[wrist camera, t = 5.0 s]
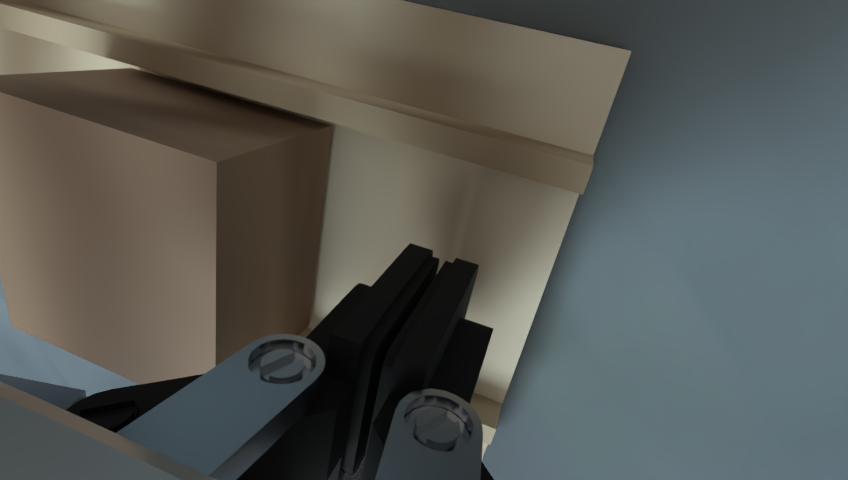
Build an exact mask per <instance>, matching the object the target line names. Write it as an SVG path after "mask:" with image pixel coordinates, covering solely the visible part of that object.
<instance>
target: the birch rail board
mask: <svg viewBox="0 0 848 480" xmlns="http://www.w3.org/2000/svg"><path fill="white" fill-rule="evenodd" d="M631 52H632V51H629V50H625V49H620V48H616V47H611V46H607V45H602V44H598V43H593V42H589V41H584V40H580V39H575V38H571V37H566V36H562V35H557V34H553V33H548V32H544V31H539V30H534V29H530V28H525V27H521V26H516V25H512V24H507V23H503V22H498V21H494V20H489V19H485V18H480V17H476V16H471V15H467V14H462V13H458V12H453V11H449V10H444V9H440V8H435V7H431V6H426V5H422V4H417V3H413V2H408V1H404V0H0V75H8V74H27V73H46V72H65V71H84V70H103V69H122V68H134V69H137V70H140V71H144V72H147V73H151V74H154V75H158V76H161V77H165V78H168V79H172V80H175V81H178V82H182V83H185V84H189V85H192V86H196V87H199V88H203V89H206V90H210V91H213V92H217V93H220V94H223V95H227V96H230V97H234V98H237V99H241V100H244V101H248V102H251V103H255V104H258V105H261V106H265V107H268V108H272V109H275V110H279V111H282V112H286V113H289V114H293V115H296V116H300V117H303V118H306V119H310V120H313V121H317V122H320V123H324V124H327V125H331V126H332V127H331V136H330V145H329V154H328V163H327V172H326V180H325V189H324V198H323V207H322V216H321V225H320V234H319V243H318V251H317V260H316V269H315V278H314V287H313V296H312V305H311V314H310V323H309V326H308V327H307V328H305V329H304V330H303V331H302V332H301V333H300V334H299V335H298V336H301V337H304V338H306V337H307V336H308V335H309V334H310V332H311V331H312V330H313V329H314V328H315V327H316V326H317V325H318V324H319V323H320V322H321V321H322V320H323V319H324V318H325V317H326V316H327V315H328V314H329V313H330V312H331V311H332V310H333V309H334V307H335V306H336V305H337V304H338V303H339V302H340V301H341V300H342V299H343V298H344V297H345V296H346V295H347V294H348V293H349V292H350V291H351V290H352V289H353V288H354V287H355V286H356V285H357V284H358V283H362V284H365V285H368V286H372V285H373V284H374V283H375V282H376V281H377V279H378V278H379V277H380V276H381V275H382V274H383V273H384V272H385V270H386V269H387V268H388V267H389V266H390V265H391V264H392V263H393V261H394V260H395V259H396V258H397V257H398V256H399V255H400V254H401V252H402V251H403V250H404V249H405V248H406V247H407V246H408V245H409V244H410V243H412V244H415V245H418V246H421V247H424V248H427V249H430V250H433V257H436V258H439V266H438V270H437V273H438V272H439V270H440V268H441V267H442V265H443V264H444V262H445V261H448V262H451V263H453V262H454V260H455V259H456V258H459V259H462V260H465V261H468V262H471V263H475V264H478V265H479V268H478V273H477V276H476V280H475V284H474V287H473V291H472V294H471V298H470V302H469V305H468V309H467V313H466V316H465V319H467V320H470V321H473V322H476V323H479V324H482V325H485V326H488V327H491V328H494V329H493V332H492V336H491V339H490V342H489V345H488V348H487V352H486V355H485V358H484V361H483V364H482V368H481V371H480V374H479V377H478V380H477V383H476V387H475V390H474V393H473V396H472V399H471V402H470V406H471V407H472V408H473V409H474V410H475V411H476V412H477V414H478V416H479V418H480V420H481V422H482V429H483V444H482V458H483V455H484V453H485V450H486V447H487V445H491V442H492V439H493V437H494V434H495V431H496V428H497V424H498V420H499V416H500V412H501V408H502V404H503V401H504V398H505V395H506V393H507V390H508V387H509V385H510V382H511V379H512V376H513V374H514V371H515V368H516V365H517V363H518V360H519V357H520V355H521V352H522V349H523V346H524V344H525V341H526V338H527V335H528V333H529V330H530V327H531V325H532V322H533V319H534V316H535V314H536V311H537V308H538V305H539V303H540V300H541V297H542V295H543V292H544V289H545V286H546V284H547V281H548V278H549V275H550V273H551V270H552V267H553V265H554V262H555V259H556V256H557V254H558V251H559V248H560V245H561V243H562V240H563V237H564V235H565V232H566V229H567V226H568V224H569V221H570V218H571V215H572V213H573V210H574V207H575V205H576V202H577V199H578V196H579V194H582V195H583V194H584V191H585V188H586V186H587V183H588V180H589V178H590V175H591V172H592V169H593V167H594V156H593V155H594V153H595V150H596V147H597V145H598V142H599V139H600V136H601V134H602V131H603V128H604V125H605V123H606V120H607V117H608V115H609V112H610V109H611V106H612V104H613V101H614V98H615V95H616V93H617V90H618V87H619V85H620V82H621V79H622V76H623V74H624V71H625V68H626V65H627V63H628V60H629V57H630V55H631Z"/></svg>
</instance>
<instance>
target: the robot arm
mask: <svg viewBox="0 0 848 480" xmlns="http://www.w3.org/2000/svg"><path fill="white" fill-rule="evenodd" d="M438 266H439V258H436V257H433V250H430V249H427V248H424V247H421V246H418V245H415V244H412V243H410V244H409V245H408V246H407V247H406V248H405V249H404V250H403V251H402V252H401V254H400V255H399V256H398V257H397V258H396V259H395V260H394V261H393V263H392V264H391V265H390V266H389V267H388V268H387V269H386V270H385V272H384V273H383V274H382V275H381V276H380V277H379V278H378V279H377V281H376V282H375V283H374V284H373V285H372V286H368V285H365V284H362V283H358V284H357V285H356V286H355V287H354V288H353V289H352V290H351V291H350V292H349V293H348V294H347V295H346V296H345V297H344V298H343V299H342V300H341V301H340V302H339V303H338V304H337V305H336V306H335V307H334V309H333V310H332V311H331V312H330V313H329V314H328V315H327V316H326V317H325V318H324V319H323V320H322V321H321V322H320V323H319V324H318V325H317V326H316V327H315V328H314V329H313V330H312V331H311V332H310V334H309V335H308V336H307V337H306V338H304V337H301V336H298V335H291V334H274V335H270V336H266V337H262V338H260V339H258V340H256V341H254V342H252V343H250V344H248V345H247V346H245V347H244V348H242V349H241V350H239V351H238V352H236V353H235V354H233V355H232V356H230V357H229V358H227V359H226V360H224V361H223V362H221V363H220V364H218V365H217V366H215V367H214V368H212V369H211V370H209V371H208V372H206V373H205V374H200V375H194V376H188V377H182V378H176V379H171V380H165V381H159V382H153V383H147V384H141V385H135V386H129V387H123V388H117V389H111V390H107V391H103V392H100V393H96V394H93V395H91V396H89V397H86V392H85V390H81V389H75V388H70V387H65V386H60V385H55V384H49V383H44V382H39V381H34V380H29V379H23V378H18V377H13V376H8V375H3V374H0V480H341V479H342V477H343V475H344V473H345V472H349V473H351V474H354V473H355V472H356V471H357V469H358V467H359V465H360V463H361V462H362V460H363V458H364V456H365V458H364V463H363V468H362V473H361V478H362V480H494V479H493V478H492V476H491V475H490V473H489V472H488V470H487V469H486V467H485V466H484V464H483V463H482V444H483V429H482V422H481V420H480V418H479V416H478V414H477V412H476V411H475V410H474V409H473V408H472V407H471V406H470V402H471V399H472V396H473V393H474V390H475V387H476V383H477V380H478V377H479V374H480V371H481V368H482V364H483V361H484V358H485V355H486V352H487V348H488V345H489V342H490V339H491V336H492V332H493V329H494V328H491V327H488V326H485V325H482V324H479V323H476V322H473V321H470V320H467V319H465V316H466V313H467V309H468V305H469V302H470V298H471V294H472V291H473V287H474V284H475V280H476V276H477V273H478V268H479V265H478V264H475V263H471V262H468V261H465V260H462V259H459V258H456V259H455V260H454V262H453V263H451V262H448V261H445V262H444V264H443V265H442V267H441V268H440V270H439V272H438V273H437V270H438Z"/></svg>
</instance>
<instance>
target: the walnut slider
mask: <svg viewBox="0 0 848 480" xmlns="http://www.w3.org/2000/svg"><path fill="white" fill-rule="evenodd" d="M331 127H332V126H331V125H327V124H324V123H320V122H317V121H313V120H310V119H306V118H303V117H300V116H296V115H293V114H289V113H286V112H282V111H279V110H275V109H272V108H268V107H265V106H261V105H258V104H255V103H251V102H248V101H244V100H241V99H237V98H234V97H230V96H227V95H223V94H220V93H217V92H213V91H210V90H206V89H203V88H199V87H196V86H192V85H189V84H185V83H182V82H178V81H175V80H172V79H168V78H165V77H161V76H158V75H154V74H151V73H147V72H144V71H140V70H137V69H134V68H122V69H103V70H84V71H65V72H46V73H27V74H8V75H0V277H1V281H2V285H3V290H4V294H5V299H6V303H7V307H8V312H9V316H10V320H11V325H12V326H13V327H15V328H17V329H19V330H22V331H24V332H26V333H28V334H30V335H33V336H35V337H37V338H39V339H41V340H44V341H46V342H48V343H50V344H52V345H55V346H57V347H59V348H61V349H63V350H66V351H68V352H70V353H72V354H74V355H77V356H79V357H81V358H83V359H85V360H88V361H90V362H92V363H94V364H96V365H99V366H101V367H103V368H105V369H107V370H110V371H112V372H114V373H116V374H118V375H121V376H123V377H125V378H127V379H129V380H132V381H134V382H136V383H138V384H140V385H141V384H147V383H153V382H159V381H165V380H171V379H176V378H182V377H188V376H194V375H200V374H205V373H206V372H208V371H209V370H211V369H212V368H214V367H215V366H217V365H218V364H220V363H221V362H223V361H224V360H226V359H227V358H229V357H230V356H232V355H233V354H235V353H236V352H238V351H239V350H241V349H242V348H244V347H245V346H247V345H248V344H250V343H252V342H254V341H256V340H258V339H260V338H262V337H266V336H270V335H274V334H291V335H299V334H300V333H301V332H302V331H303V330H304V329H305V328H307V327H308V326H309V323H310V314H311V305H312V296H313V287H314V278H315V269H316V260H317V251H318V243H319V234H320V225H321V216H322V207H323V198H324V189H325V180H326V172H327V163H328V154H329V145H330V136H331Z"/></svg>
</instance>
